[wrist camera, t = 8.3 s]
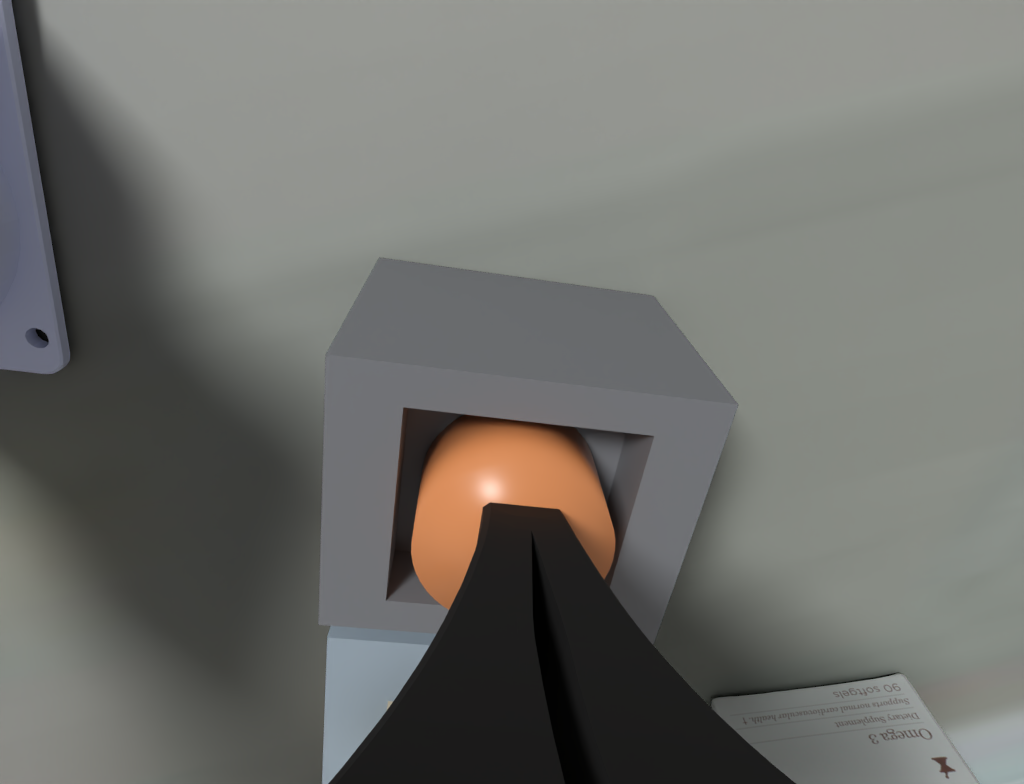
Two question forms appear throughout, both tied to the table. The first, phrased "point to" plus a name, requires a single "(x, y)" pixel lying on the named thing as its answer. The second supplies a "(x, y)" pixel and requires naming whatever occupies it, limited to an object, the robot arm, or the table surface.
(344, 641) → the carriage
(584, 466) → the button
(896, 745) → the supplement box
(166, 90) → the table surface
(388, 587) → the cabinet
